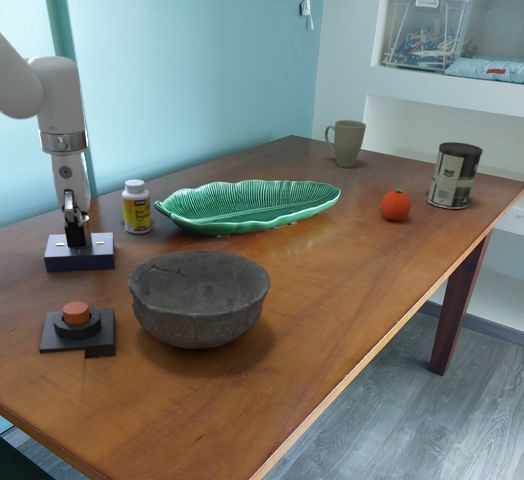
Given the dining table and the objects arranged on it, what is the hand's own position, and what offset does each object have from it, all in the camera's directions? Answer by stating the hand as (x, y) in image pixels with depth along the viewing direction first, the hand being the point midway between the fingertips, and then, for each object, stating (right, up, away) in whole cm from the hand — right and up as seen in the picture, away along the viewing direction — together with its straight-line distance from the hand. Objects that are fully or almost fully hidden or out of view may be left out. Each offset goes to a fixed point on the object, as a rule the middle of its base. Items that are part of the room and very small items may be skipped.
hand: (78, 235), depth 100 cm
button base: (+7, -20, -19) cm, 28 cm away
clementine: (+66, +10, +29) cm, 73 cm away
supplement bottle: (+8, +4, +15) cm, 18 cm away
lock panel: (0, -4, +3) cm, 5 cm away
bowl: (+25, -19, -16) cm, 35 cm away
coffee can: (+82, +17, +40) cm, 93 cm away
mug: (+58, +35, +63) cm, 93 cm away
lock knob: (0, -1, +1) cm, 2 cm away
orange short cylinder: (+7, -17, -21) cm, 28 cm away
